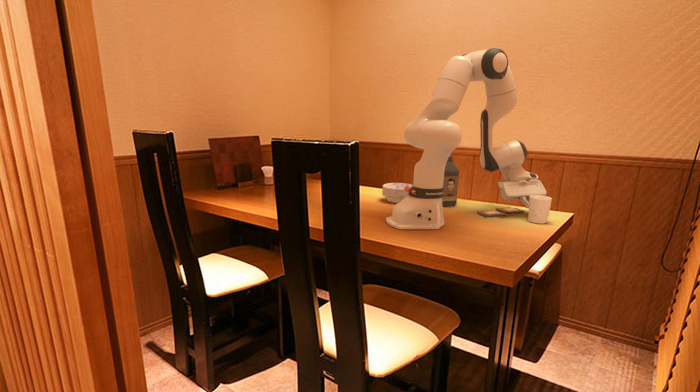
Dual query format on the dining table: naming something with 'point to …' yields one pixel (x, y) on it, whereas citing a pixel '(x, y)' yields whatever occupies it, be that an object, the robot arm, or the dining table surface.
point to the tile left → (491, 214)
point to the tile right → (510, 210)
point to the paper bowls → (395, 191)
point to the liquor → (450, 183)
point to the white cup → (539, 208)
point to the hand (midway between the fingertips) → (530, 207)
